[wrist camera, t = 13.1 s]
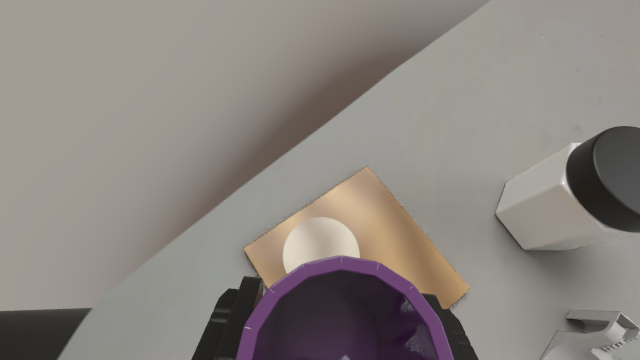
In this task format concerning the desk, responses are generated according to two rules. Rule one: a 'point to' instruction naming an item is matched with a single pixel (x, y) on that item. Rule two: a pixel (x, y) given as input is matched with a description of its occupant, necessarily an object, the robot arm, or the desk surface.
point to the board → (357, 238)
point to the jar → (577, 194)
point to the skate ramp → (592, 336)
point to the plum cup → (343, 316)
